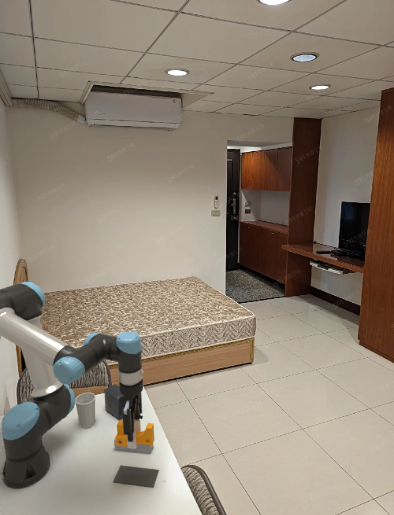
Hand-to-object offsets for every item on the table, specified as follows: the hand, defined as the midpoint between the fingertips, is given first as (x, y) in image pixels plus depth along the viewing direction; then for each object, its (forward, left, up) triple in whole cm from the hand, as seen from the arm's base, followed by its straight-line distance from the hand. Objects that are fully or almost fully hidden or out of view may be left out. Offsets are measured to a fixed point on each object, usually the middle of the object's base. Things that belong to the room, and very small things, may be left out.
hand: (134, 441), depth 118 cm
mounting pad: (0, 0, -14) cm, 14 cm away
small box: (-19, +32, -14) cm, 40 cm away
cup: (-29, +23, -14) cm, 40 cm away
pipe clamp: (0, 0, 0) cm, 1 cm away
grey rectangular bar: (-5, +13, -14) cm, 19 cm away
